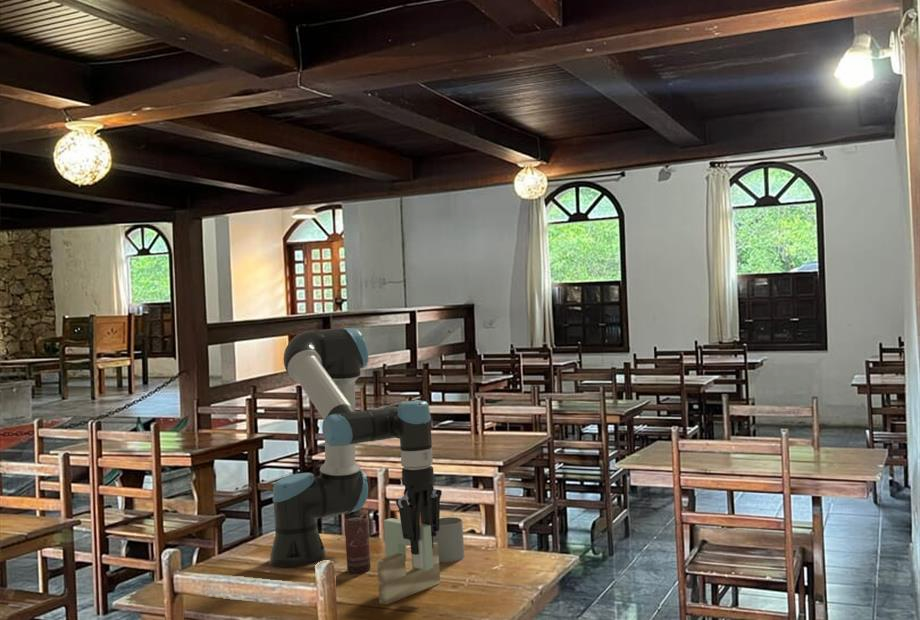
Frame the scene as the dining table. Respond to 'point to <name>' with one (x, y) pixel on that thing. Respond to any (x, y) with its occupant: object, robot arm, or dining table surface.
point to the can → (357, 544)
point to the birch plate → (404, 577)
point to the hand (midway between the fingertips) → (423, 565)
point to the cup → (450, 539)
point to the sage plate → (407, 541)
